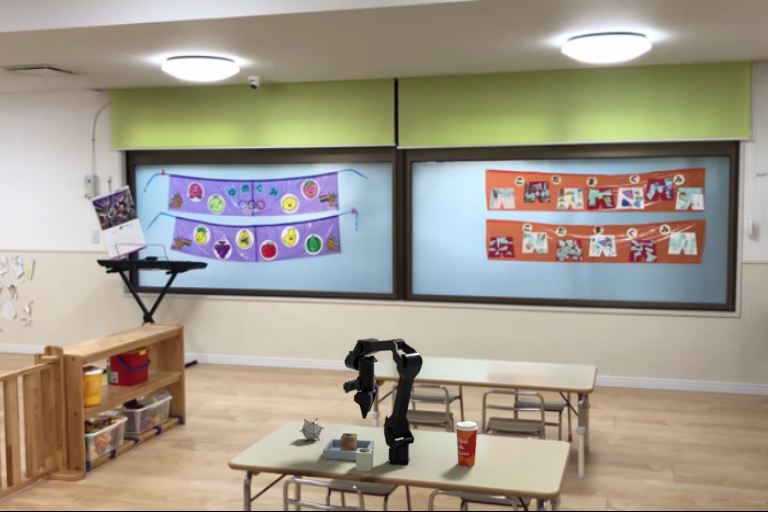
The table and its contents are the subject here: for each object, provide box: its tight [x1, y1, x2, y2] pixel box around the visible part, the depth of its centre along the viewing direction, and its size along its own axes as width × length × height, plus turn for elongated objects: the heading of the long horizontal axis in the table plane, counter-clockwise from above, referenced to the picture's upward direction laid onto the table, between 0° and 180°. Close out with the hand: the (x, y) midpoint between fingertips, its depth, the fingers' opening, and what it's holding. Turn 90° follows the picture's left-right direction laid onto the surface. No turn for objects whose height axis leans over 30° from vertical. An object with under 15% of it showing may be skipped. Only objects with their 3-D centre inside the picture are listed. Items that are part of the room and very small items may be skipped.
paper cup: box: [455, 420, 479, 468], centre depth 260 cm, size 8×8×14 cm
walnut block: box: [340, 432, 358, 451], centre depth 271 cm, size 5×5×6 cm
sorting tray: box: [322, 438, 375, 462], centre depth 271 cm, size 16×14×3 cm
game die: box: [299, 417, 325, 442], centre depth 287 cm, size 9×8×10 cm
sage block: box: [355, 448, 374, 472], centre depth 256 cm, size 5×5×6 cm
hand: (366, 415), depth 278 cm, fingers open, 9 cm apart
